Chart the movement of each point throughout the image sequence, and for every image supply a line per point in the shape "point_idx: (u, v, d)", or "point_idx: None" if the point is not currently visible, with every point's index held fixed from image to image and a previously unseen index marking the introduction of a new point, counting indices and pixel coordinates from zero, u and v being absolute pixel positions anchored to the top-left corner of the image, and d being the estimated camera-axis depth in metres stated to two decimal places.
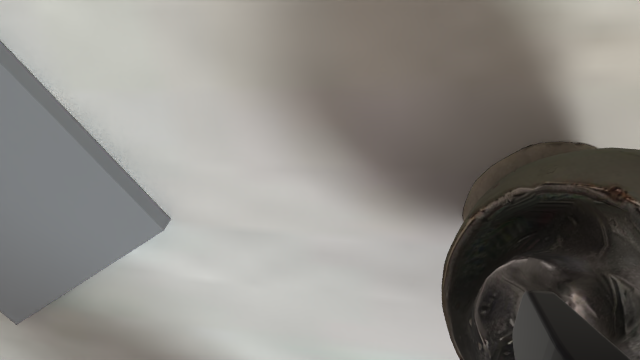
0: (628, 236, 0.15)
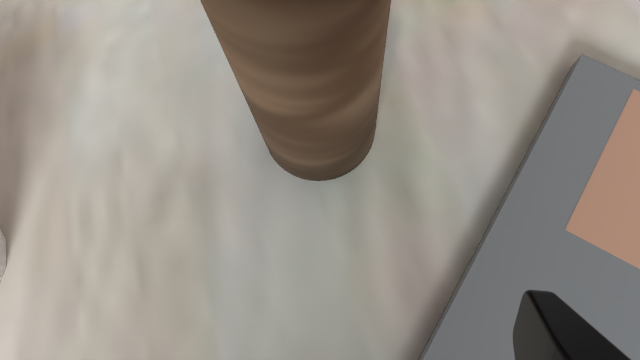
0: None
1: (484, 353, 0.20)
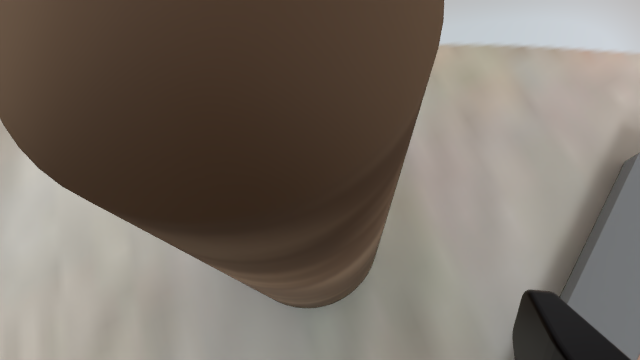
0: None
1: None
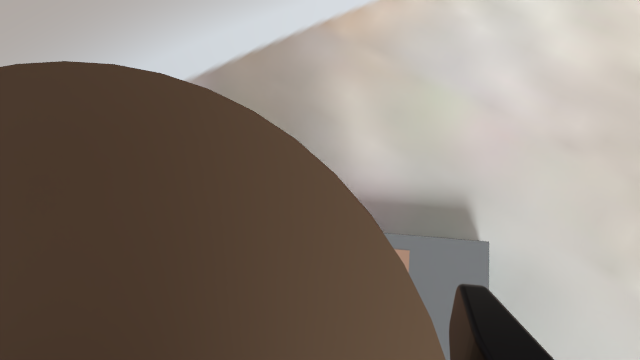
0: None
1: None
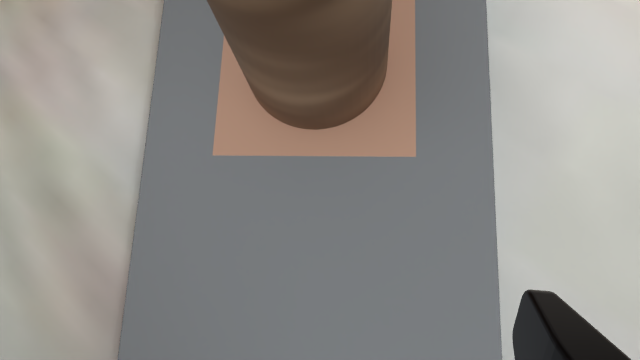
0: None
1: (177, 328, 0.17)
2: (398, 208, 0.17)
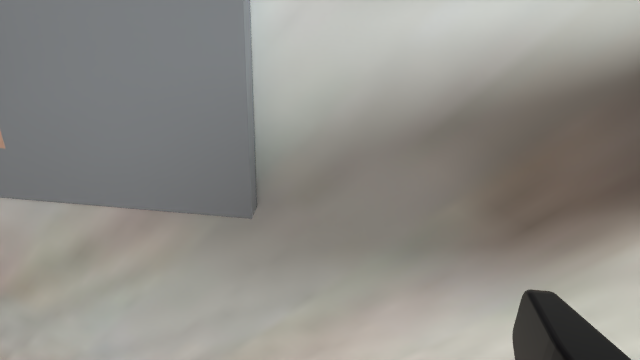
0: None
1: (141, 171, 0.22)
2: None
